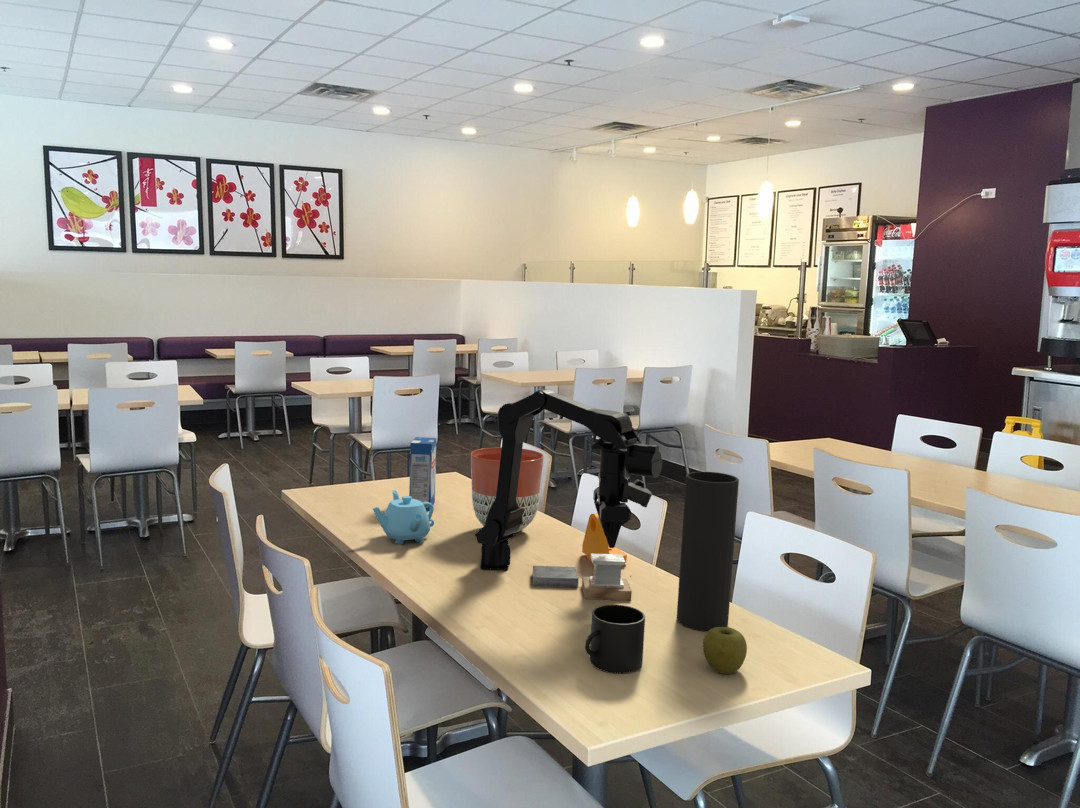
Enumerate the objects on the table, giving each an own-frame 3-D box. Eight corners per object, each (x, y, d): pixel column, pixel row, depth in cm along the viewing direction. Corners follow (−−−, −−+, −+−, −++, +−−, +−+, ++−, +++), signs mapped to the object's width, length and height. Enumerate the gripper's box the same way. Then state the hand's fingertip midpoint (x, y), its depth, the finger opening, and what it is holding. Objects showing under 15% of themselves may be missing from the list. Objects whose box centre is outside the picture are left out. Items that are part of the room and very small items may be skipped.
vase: (666, 618, 173) (675, 474, 169) (700, 608, 179) (710, 469, 175) (703, 635, 165) (714, 485, 161) (738, 625, 171) (749, 479, 167)
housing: (591, 587, 183) (592, 560, 183) (589, 579, 188) (590, 553, 188) (623, 588, 184) (625, 561, 183) (620, 580, 189) (622, 554, 188)
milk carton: (430, 510, 248) (431, 443, 245) (408, 510, 248) (410, 442, 246) (434, 502, 258) (436, 437, 255) (414, 501, 258) (415, 437, 255)
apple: (738, 660, 154) (741, 623, 153) (750, 680, 146) (753, 641, 145) (697, 659, 154) (699, 622, 153) (707, 679, 146) (710, 640, 145)
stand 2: (584, 598, 182) (585, 589, 182) (582, 585, 190) (582, 577, 190) (631, 600, 182) (631, 591, 182) (626, 587, 190) (626, 578, 190)
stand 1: (533, 585, 189) (533, 577, 188) (532, 573, 197) (532, 565, 196) (577, 587, 189) (578, 578, 189) (575, 575, 197) (575, 566, 197)
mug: (567, 662, 151) (569, 613, 149) (617, 647, 158) (620, 600, 157) (602, 682, 143) (604, 631, 142) (653, 666, 150) (656, 617, 149)
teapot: (365, 542, 216) (366, 498, 214) (392, 528, 228) (393, 487, 227) (419, 550, 211) (420, 506, 209) (443, 536, 223) (444, 494, 222)
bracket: (627, 566, 206) (630, 518, 204) (600, 568, 203) (603, 519, 201) (607, 552, 215) (610, 506, 214) (582, 555, 213) (584, 508, 211)
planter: (554, 536, 228) (558, 457, 225) (492, 546, 217) (495, 464, 214) (515, 518, 244) (517, 445, 241) (455, 527, 232) (457, 450, 230)
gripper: (657, 482, 174) (653, 555, 176) (643, 463, 192) (640, 530, 194) (603, 480, 173) (599, 554, 175) (594, 462, 192) (591, 529, 194)
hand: (609, 541), depth 185 cm, fingers open, 9 cm apart
